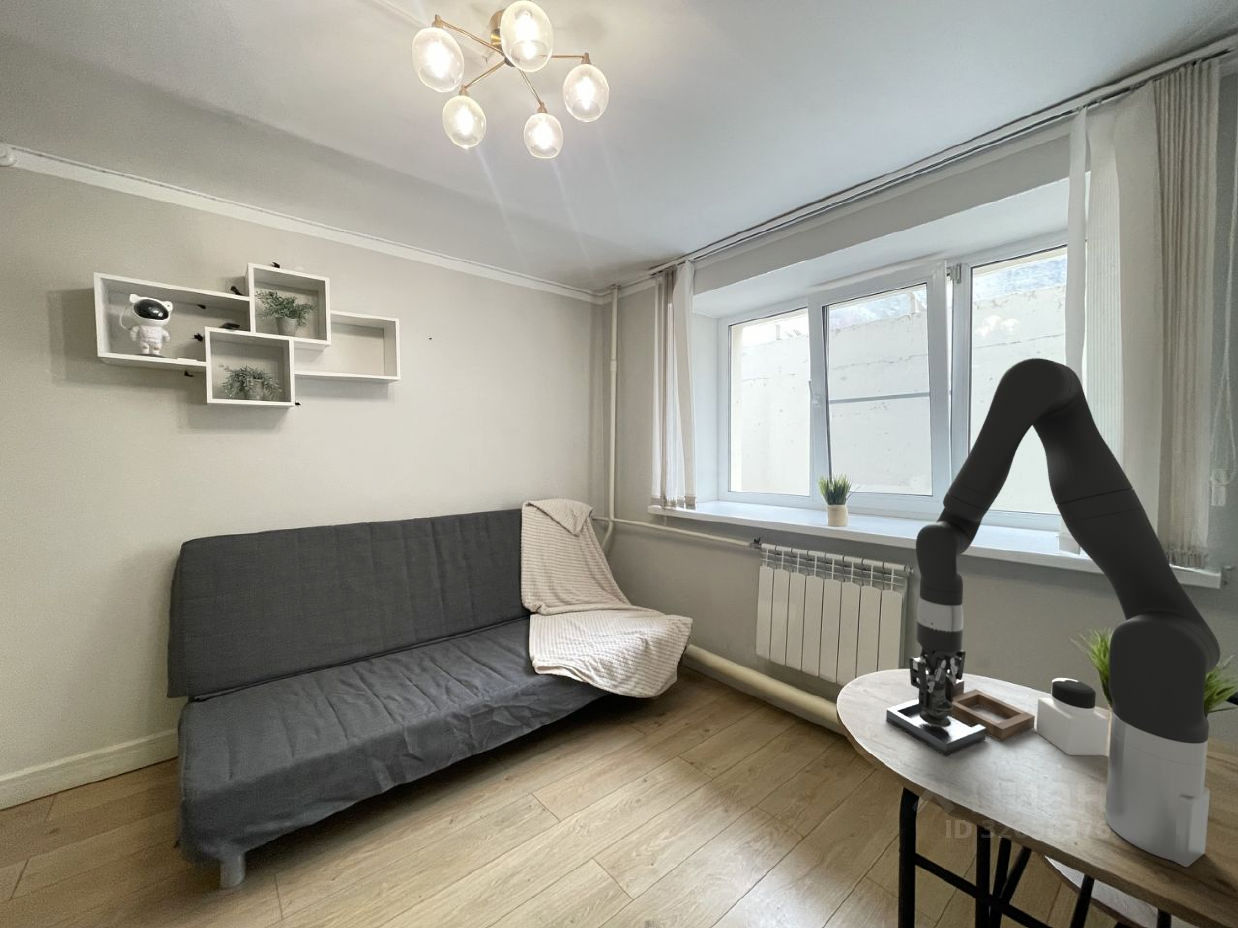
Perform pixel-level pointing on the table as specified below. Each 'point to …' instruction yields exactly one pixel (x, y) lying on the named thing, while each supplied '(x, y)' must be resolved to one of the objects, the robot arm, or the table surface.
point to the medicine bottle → (1072, 719)
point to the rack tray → (934, 729)
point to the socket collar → (1004, 730)
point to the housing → (957, 687)
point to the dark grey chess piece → (938, 704)
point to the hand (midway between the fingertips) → (935, 703)
